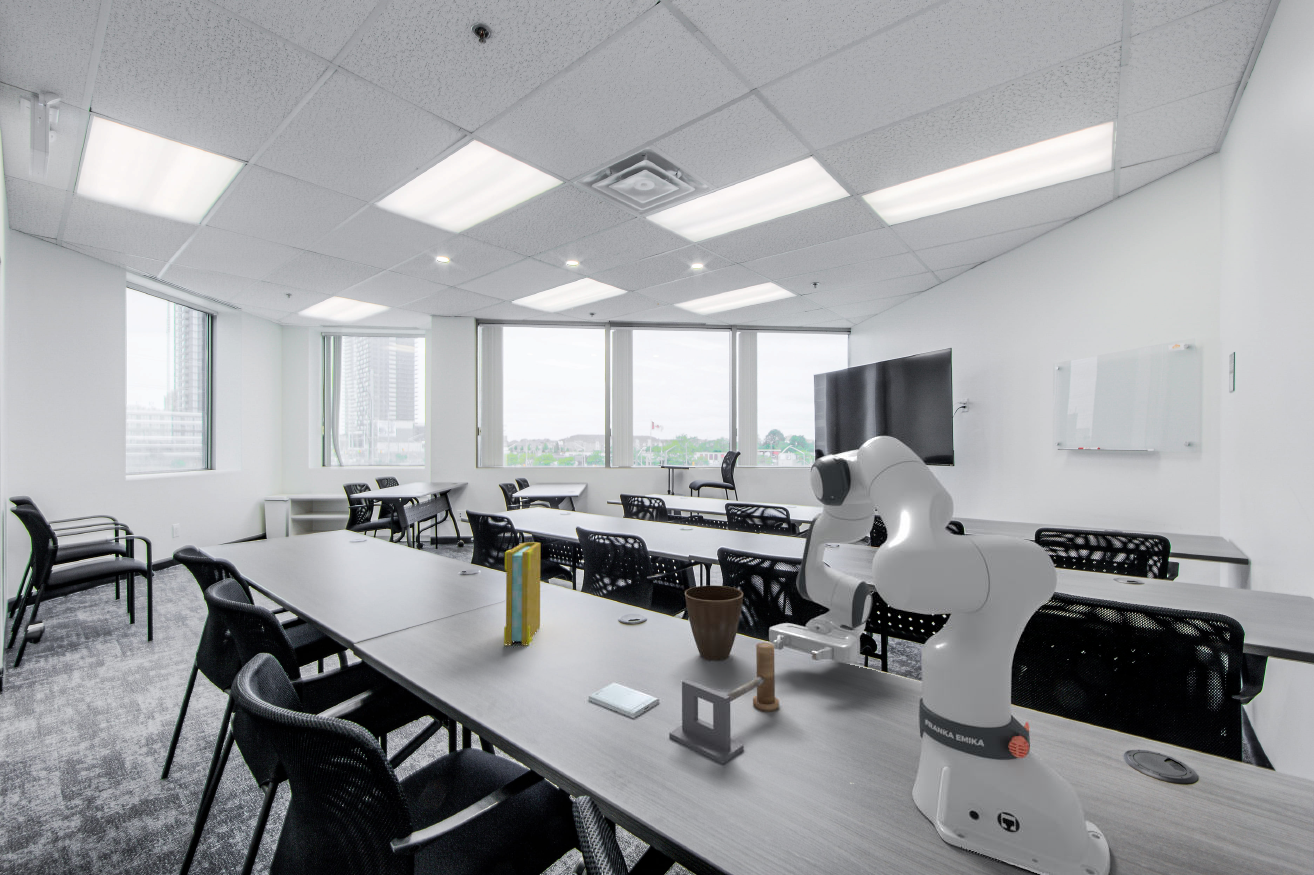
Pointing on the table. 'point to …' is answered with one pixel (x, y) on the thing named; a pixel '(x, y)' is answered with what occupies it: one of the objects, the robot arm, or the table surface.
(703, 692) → the grey square frame stand
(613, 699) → the hard drive
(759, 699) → the hammer
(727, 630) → the plant pot
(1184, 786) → the table surface
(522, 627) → the book
